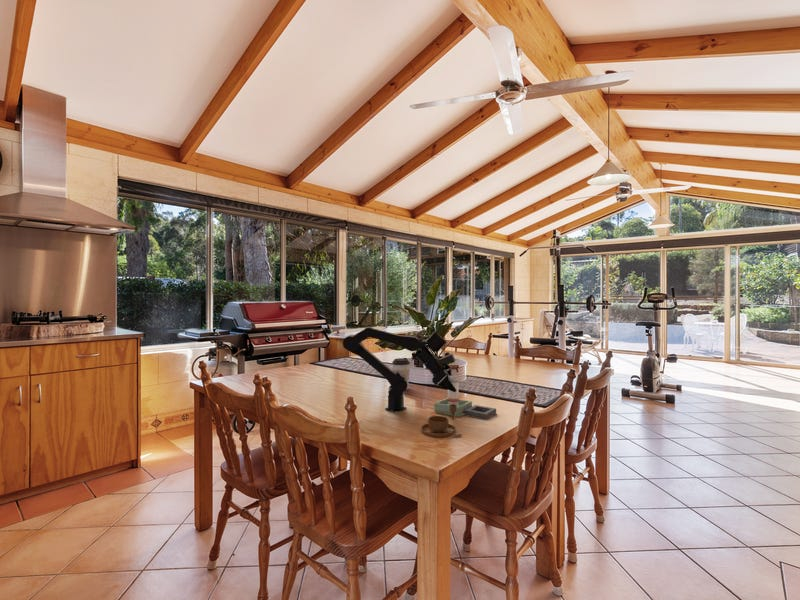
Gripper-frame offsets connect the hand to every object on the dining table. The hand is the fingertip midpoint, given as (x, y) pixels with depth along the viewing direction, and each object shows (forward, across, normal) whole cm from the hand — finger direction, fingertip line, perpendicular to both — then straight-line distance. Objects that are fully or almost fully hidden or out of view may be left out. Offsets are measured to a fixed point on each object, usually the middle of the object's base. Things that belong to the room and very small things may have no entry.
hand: (456, 388), depth 161 cm
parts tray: (+5, 0, +7) cm, 9 cm away
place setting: (+6, -22, +8) cm, 24 cm away
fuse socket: (+13, -3, 0) cm, 13 cm away
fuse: (+5, 0, +7) cm, 8 cm away
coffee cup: (-15, +33, +28) cm, 46 cm away
